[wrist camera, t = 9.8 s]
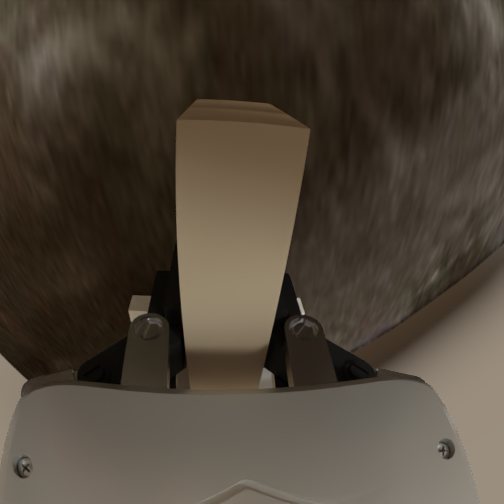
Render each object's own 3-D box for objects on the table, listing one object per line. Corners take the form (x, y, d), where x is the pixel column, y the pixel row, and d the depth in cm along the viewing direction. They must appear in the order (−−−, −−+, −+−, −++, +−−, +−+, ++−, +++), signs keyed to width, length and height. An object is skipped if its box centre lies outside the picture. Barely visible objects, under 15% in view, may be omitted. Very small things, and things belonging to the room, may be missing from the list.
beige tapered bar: (120, 101, 9) (48, 129, 4) (342, 114, 10) (421, 152, 6) (155, 366, 17) (148, 437, 13) (280, 366, 18) (294, 436, 14)
